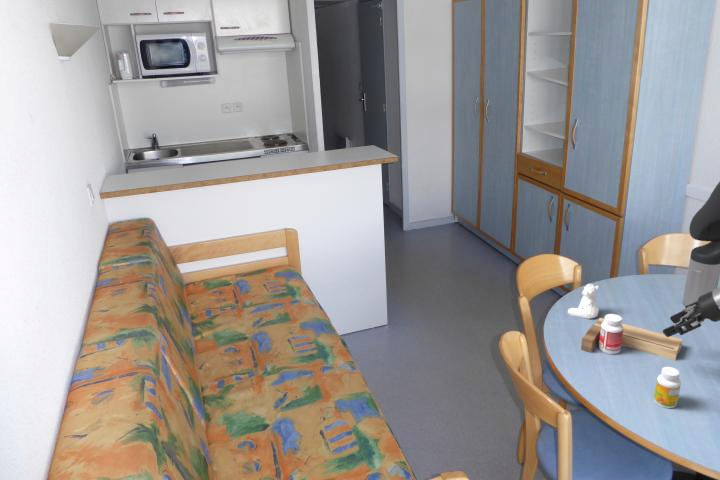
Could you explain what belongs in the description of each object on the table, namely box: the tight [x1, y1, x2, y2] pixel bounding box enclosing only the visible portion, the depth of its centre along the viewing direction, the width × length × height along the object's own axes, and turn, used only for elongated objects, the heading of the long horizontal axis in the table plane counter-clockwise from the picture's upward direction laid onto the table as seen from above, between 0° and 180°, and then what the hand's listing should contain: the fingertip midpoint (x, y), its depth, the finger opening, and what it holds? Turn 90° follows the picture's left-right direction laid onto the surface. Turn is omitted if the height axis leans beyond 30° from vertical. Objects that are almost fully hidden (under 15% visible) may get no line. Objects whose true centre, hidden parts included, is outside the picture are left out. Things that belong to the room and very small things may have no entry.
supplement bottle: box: [653, 366, 682, 409], centre depth 143 cm, size 5×5×10 cm
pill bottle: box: [598, 313, 623, 355], centre depth 166 cm, size 6×6×11 cm
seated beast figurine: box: [567, 283, 600, 320], centre depth 186 cm, size 10×9×12 cm
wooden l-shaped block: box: [580, 317, 683, 361], centre depth 167 cm, size 18×24×4 cm
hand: (668, 327), depth 155 cm, fingers open, 8 cm apart
